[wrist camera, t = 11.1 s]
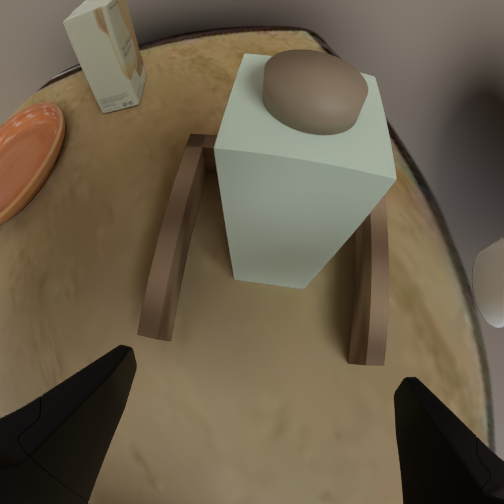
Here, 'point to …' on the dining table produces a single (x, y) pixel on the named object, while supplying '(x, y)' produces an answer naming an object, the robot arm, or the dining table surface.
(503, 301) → the pill bottle
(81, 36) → the skincare box
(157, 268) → the box
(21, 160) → the saucer
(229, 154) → the block
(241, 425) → the dining table surface
